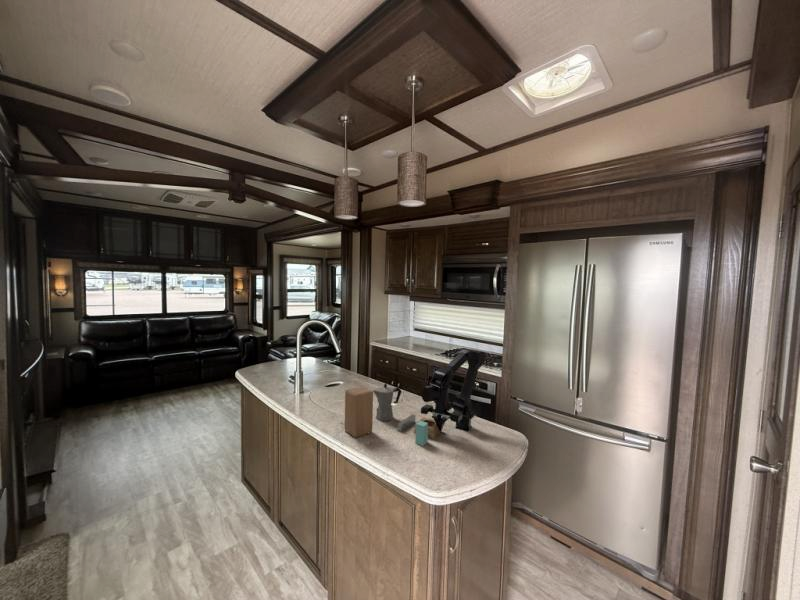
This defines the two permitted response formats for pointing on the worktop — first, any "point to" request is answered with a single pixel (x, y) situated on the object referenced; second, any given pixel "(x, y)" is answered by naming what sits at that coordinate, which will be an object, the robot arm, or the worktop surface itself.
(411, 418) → the backstop wall
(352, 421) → the block
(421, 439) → the turquoise rectangular prism
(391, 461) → the worktop surface
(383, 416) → the coffeepot
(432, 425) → the socket block
